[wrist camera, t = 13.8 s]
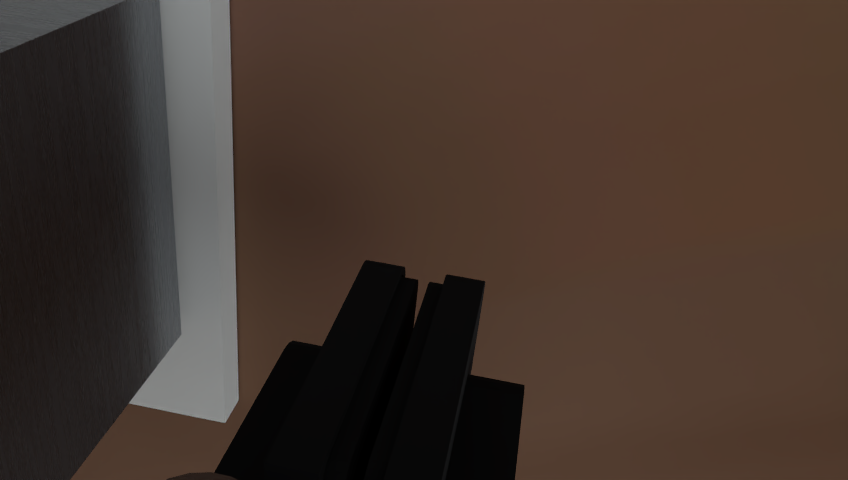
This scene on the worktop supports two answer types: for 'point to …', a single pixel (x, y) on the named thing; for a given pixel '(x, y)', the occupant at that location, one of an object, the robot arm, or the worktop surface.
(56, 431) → the bookend
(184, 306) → the shelf board
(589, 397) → the worktop surface
